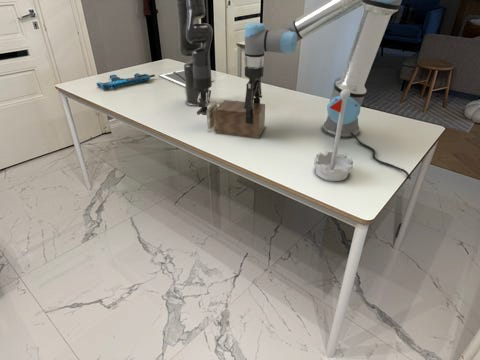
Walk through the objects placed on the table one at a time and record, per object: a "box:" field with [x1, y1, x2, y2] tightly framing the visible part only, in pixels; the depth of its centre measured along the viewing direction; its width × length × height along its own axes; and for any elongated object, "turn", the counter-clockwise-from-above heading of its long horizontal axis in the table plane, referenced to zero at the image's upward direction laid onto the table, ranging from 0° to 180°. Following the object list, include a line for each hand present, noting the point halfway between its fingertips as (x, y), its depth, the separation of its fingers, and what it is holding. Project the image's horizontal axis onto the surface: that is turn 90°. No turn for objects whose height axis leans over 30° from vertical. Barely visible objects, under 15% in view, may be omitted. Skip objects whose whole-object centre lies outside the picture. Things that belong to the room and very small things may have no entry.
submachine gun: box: [95, 72, 156, 91], centre depth 209 cm, size 34×4×25 cm
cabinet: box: [215, 99, 266, 139], centre depth 148 cm, size 19×12×11 cm, turn 74°
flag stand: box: [313, 89, 354, 182], centre depth 112 cm, size 13×13×30 cm
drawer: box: [196, 101, 219, 130], centre depth 149 cm, size 23×10×9 cm, turn 74°
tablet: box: [158, 69, 214, 88], centre depth 216 cm, size 32×20×1 cm, turn 41°
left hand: (204, 114), depth 152 cm, fingers closed
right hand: (253, 117), depth 146 cm, fingers closed on cabinet, 12 cm apart
